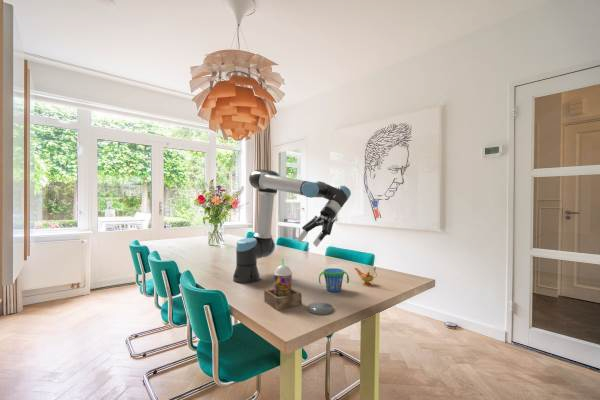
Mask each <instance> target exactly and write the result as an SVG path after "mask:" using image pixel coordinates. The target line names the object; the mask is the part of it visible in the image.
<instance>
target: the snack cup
mask: <svg viewBox="0 0 600 400" xmlns="http://www.w3.org/2000/svg"><path fill="white" fill-rule="evenodd" d="M344 274H346V284H349V283H350V278H349V273H348V272H346V271H345V270H344V269H341V268H334V267H331V268H325V269H323V271H321V273H320V274H319V275H318V283H319V284H320V285H321V284H322V283H321V277H322V275H323V276H324V279H325V287H326V290H327V291H328V292H330V293H338V292H340V291H341V290H342V287H343V281H344V280H343V278H344Z"/></svg>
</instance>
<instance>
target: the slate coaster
mask: <svg viewBox="0 0 600 400" xmlns="http://www.w3.org/2000/svg"><path fill="white" fill-rule="evenodd" d="M307 312H308V313H310V314H312V315H318V316H323V315H324V316H325V315H330V314H332V312H334V307H333V305H332V304H330V303H326V302H317V301H316V302H311V303H308V305H307Z"/></svg>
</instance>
